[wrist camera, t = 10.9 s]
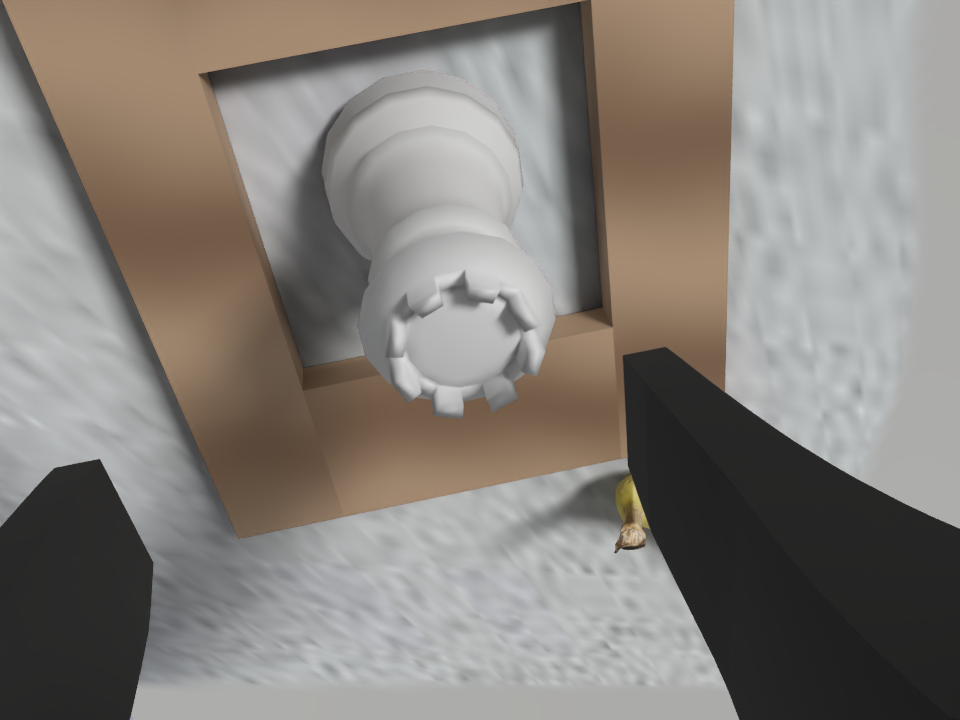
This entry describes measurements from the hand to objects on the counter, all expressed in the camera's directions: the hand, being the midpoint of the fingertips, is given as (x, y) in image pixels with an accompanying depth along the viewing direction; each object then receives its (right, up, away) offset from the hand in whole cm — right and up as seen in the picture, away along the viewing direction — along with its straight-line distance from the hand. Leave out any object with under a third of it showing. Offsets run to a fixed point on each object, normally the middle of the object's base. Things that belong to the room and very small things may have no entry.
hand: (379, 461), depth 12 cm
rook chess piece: (0, +6, +8) cm, 10 cm away
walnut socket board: (0, +5, +8) cm, 10 cm away
